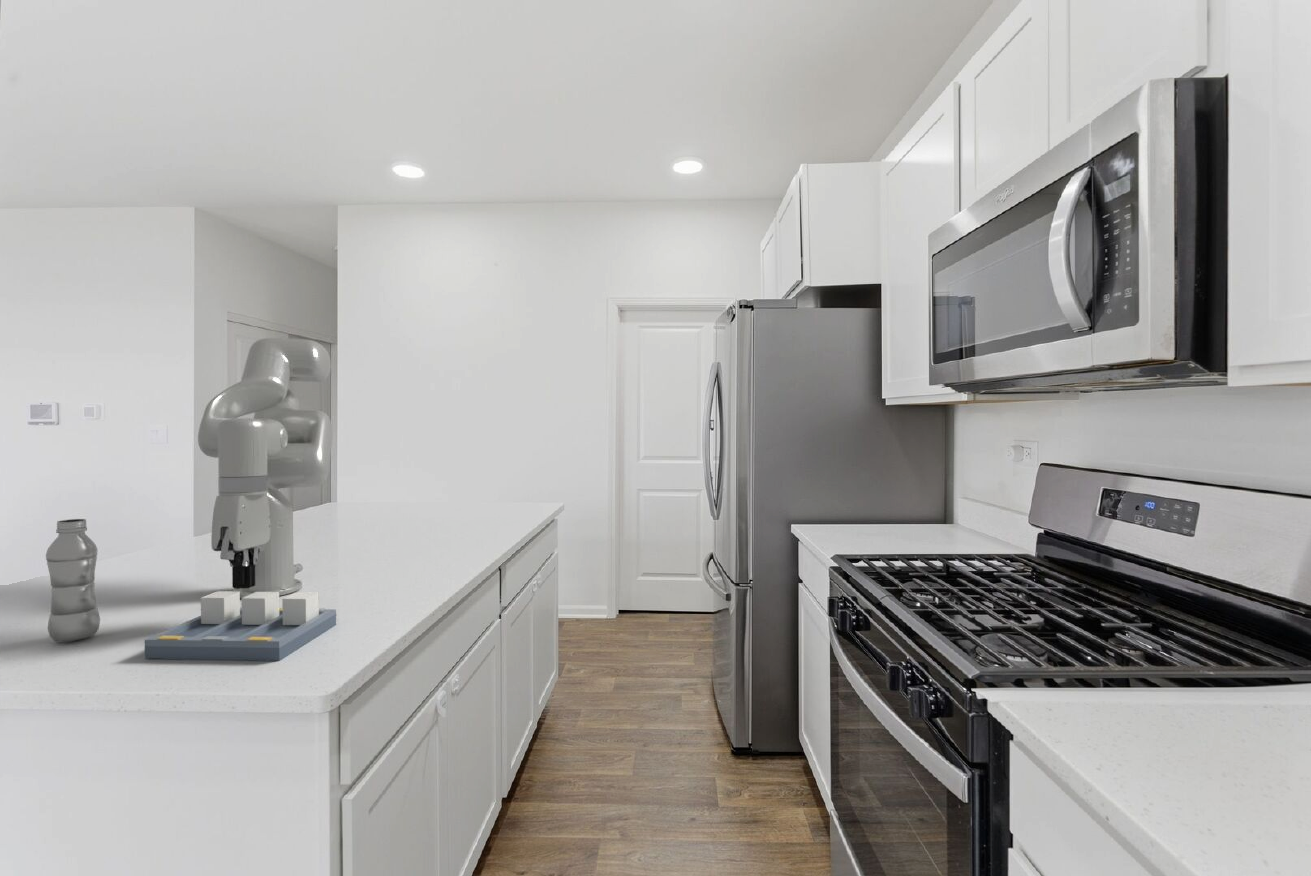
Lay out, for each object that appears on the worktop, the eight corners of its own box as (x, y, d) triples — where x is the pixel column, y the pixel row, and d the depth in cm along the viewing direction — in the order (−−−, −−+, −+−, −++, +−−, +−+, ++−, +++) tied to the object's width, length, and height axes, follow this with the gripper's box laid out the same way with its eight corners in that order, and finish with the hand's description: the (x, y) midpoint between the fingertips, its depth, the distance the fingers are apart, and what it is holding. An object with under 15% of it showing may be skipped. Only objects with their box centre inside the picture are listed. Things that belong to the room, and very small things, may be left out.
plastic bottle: (69, 647, 103) (66, 524, 103) (36, 644, 105) (33, 522, 104) (110, 634, 110) (108, 518, 109) (79, 631, 111) (76, 516, 110)
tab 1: (217, 616, 113) (217, 591, 113) (240, 616, 113) (239, 591, 113) (201, 623, 109) (200, 597, 109) (224, 624, 109) (224, 598, 109)
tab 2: (256, 617, 113) (256, 591, 113) (279, 617, 113) (279, 592, 113) (241, 624, 109) (241, 598, 109) (265, 624, 109) (264, 598, 109)
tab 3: (296, 617, 113) (295, 592, 112) (318, 617, 113) (318, 592, 112) (282, 624, 109) (282, 598, 108) (306, 625, 109) (305, 598, 108)
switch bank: (221, 623, 116) (220, 605, 116) (336, 624, 116) (335, 607, 116) (144, 658, 99) (144, 638, 99) (279, 660, 99) (279, 640, 99)
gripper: (249, 483, 124) (250, 578, 124) (192, 489, 109) (193, 597, 109) (288, 483, 124) (288, 578, 124) (236, 489, 109) (236, 597, 109)
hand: (244, 587), depth 116 cm, fingers closed
